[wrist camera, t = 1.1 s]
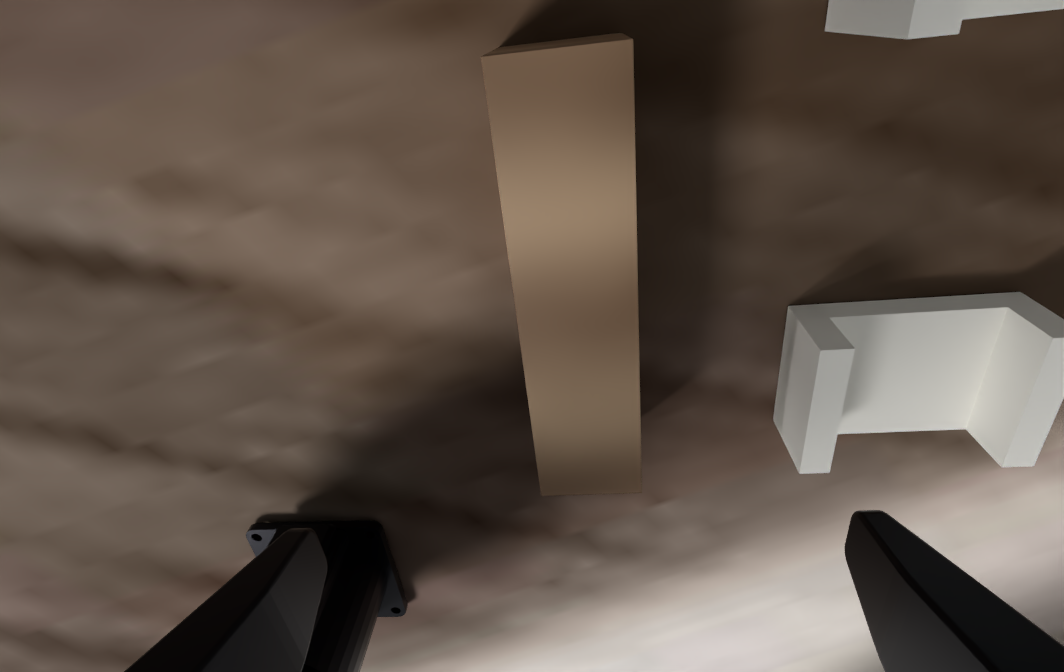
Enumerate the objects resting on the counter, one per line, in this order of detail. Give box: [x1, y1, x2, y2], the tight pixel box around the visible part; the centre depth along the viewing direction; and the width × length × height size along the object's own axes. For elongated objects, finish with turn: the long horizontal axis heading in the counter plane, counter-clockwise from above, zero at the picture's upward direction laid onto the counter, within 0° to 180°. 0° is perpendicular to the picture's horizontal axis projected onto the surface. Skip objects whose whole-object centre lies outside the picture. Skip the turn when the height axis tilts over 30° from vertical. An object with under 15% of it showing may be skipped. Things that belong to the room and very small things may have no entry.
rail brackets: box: [773, 0, 1064, 474], centre depth 15 cm, size 20×8×6 cm, turn 6°
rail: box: [481, 33, 642, 496], centre depth 18 cm, size 14×4×4 cm, turn 6°
